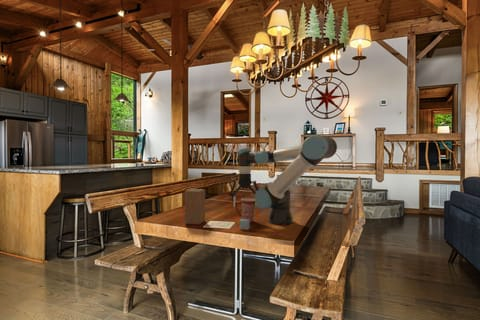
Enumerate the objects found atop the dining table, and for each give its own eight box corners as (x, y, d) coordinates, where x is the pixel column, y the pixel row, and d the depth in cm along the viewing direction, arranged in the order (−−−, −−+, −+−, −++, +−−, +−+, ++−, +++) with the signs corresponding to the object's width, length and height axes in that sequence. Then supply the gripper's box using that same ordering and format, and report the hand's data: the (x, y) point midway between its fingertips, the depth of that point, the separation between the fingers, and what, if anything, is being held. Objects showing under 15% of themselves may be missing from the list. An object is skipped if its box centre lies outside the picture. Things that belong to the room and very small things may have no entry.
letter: (235, 222, 170) (235, 221, 170) (229, 228, 156) (229, 228, 156) (210, 221, 173) (210, 220, 173) (202, 227, 159) (202, 226, 159)
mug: (256, 220, 176) (257, 198, 175) (252, 223, 167) (253, 201, 167) (237, 217, 180) (238, 197, 179) (232, 221, 171) (233, 199, 171)
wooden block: (200, 225, 164) (199, 191, 163) (184, 224, 166) (183, 190, 165) (205, 220, 173) (205, 189, 173) (190, 220, 175) (190, 188, 175)
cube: (249, 227, 159) (249, 218, 159) (248, 229, 154) (248, 221, 154) (241, 227, 160) (241, 218, 160) (239, 229, 155) (239, 220, 155)
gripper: (265, 172, 174) (266, 206, 174) (226, 172, 179) (227, 205, 179) (264, 173, 166) (264, 208, 167) (223, 173, 171) (224, 207, 172)
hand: (245, 207), depth 173 cm, fingers open, 13 cm apart
